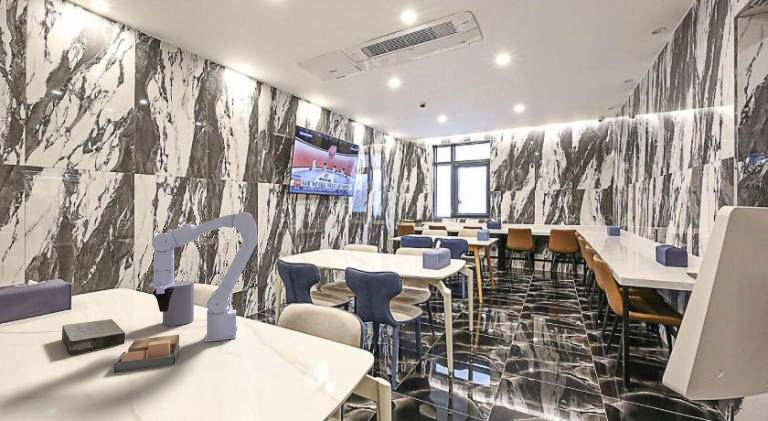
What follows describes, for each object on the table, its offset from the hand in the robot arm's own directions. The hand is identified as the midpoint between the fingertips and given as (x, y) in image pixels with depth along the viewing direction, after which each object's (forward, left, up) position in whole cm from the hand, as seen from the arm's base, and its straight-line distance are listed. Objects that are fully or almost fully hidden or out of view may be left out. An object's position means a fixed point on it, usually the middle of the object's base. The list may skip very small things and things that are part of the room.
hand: (163, 311), depth 115 cm
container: (-1, -22, -11) cm, 24 cm away
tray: (+1, +15, -10) cm, 19 cm away
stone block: (+21, -9, -11) cm, 26 cm away
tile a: (-1, +15, -7) cm, 17 cm away
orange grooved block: (+1, +7, -10) cm, 13 cm away
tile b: (+4, +16, -7) cm, 18 cm away
